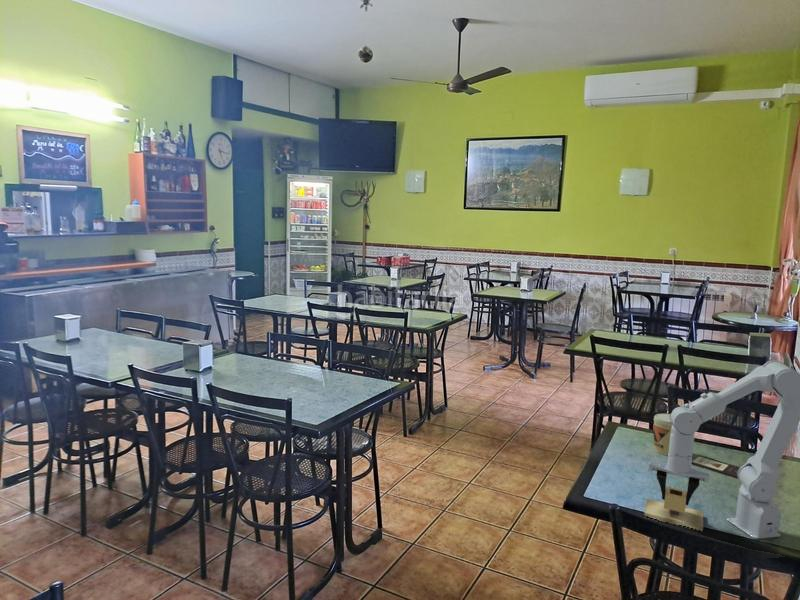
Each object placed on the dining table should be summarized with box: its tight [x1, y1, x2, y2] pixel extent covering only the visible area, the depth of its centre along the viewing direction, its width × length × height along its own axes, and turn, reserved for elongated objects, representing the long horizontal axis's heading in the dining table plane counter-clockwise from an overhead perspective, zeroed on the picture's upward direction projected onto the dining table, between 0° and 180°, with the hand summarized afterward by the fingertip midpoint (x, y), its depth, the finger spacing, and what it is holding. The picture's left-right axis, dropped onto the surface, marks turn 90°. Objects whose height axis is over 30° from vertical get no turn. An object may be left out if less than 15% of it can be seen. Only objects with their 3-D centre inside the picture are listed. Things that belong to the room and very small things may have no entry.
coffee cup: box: [652, 413, 673, 456], centre depth 200 cm, size 9×9×12 cm
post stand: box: [643, 498, 704, 532], centre depth 156 cm, size 14×9×4 cm, turn 63°
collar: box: [663, 486, 687, 513], centre depth 155 cm, size 5×5×4 cm
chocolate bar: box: [691, 455, 742, 480], centre depth 187 cm, size 9×1×18 cm
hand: (675, 500), depth 155 cm, fingers closed on collar, 5 cm apart
